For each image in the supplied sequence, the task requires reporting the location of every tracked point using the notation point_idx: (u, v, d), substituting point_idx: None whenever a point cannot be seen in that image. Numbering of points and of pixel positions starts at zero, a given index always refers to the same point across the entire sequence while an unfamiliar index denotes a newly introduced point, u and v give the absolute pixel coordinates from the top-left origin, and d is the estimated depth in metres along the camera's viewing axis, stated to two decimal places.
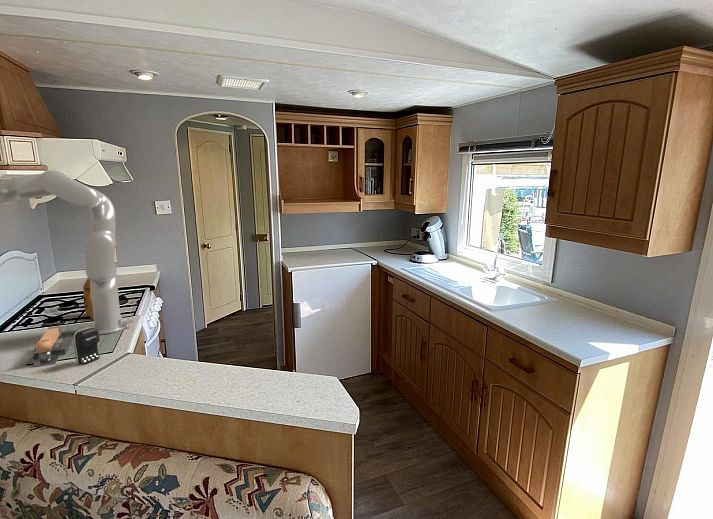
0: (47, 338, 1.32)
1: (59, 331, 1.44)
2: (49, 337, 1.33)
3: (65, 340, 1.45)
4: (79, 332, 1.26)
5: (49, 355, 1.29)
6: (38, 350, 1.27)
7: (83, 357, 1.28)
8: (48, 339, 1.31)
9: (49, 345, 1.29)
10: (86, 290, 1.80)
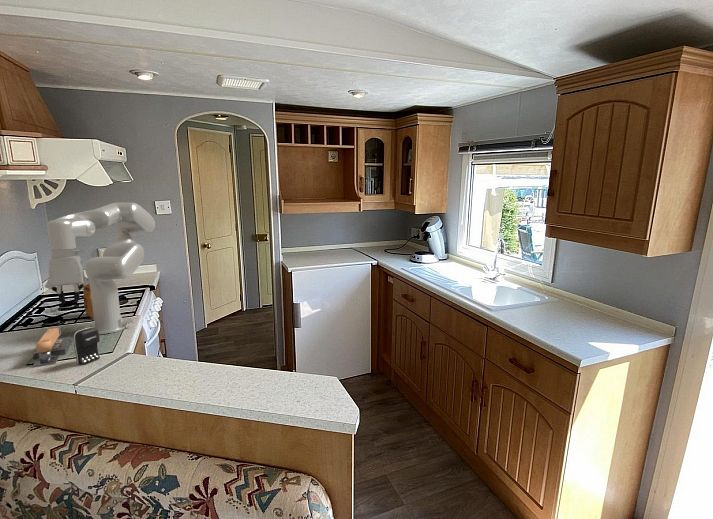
0: (47, 338, 1.32)
1: (59, 331, 1.44)
2: (49, 337, 1.33)
3: (65, 340, 1.45)
4: (79, 332, 1.26)
5: (49, 355, 1.29)
6: (38, 350, 1.27)
7: (83, 357, 1.28)
8: (48, 339, 1.31)
9: (49, 345, 1.29)
10: (86, 290, 1.80)
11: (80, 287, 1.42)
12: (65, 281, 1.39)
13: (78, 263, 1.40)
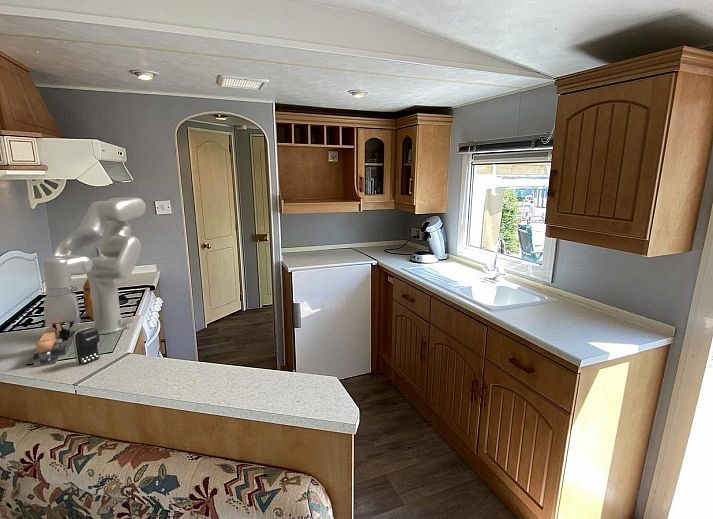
0: (47, 338, 1.32)
1: (58, 331, 1.44)
2: (49, 337, 1.33)
3: None
4: (79, 332, 1.26)
5: (49, 355, 1.29)
6: (38, 350, 1.27)
7: (83, 357, 1.28)
8: (48, 339, 1.31)
9: (49, 345, 1.29)
10: (86, 290, 1.80)
11: (70, 325, 1.42)
12: (60, 319, 1.39)
13: (74, 301, 1.41)
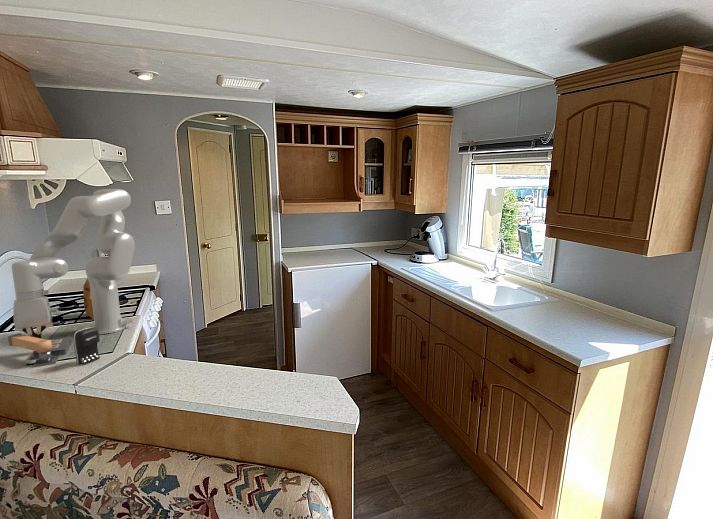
0: (39, 340, 1.31)
1: None
2: (38, 339, 1.31)
3: (65, 340, 1.45)
4: (79, 332, 1.26)
5: (49, 355, 1.29)
6: (42, 350, 1.27)
7: (83, 357, 1.28)
8: (43, 340, 1.30)
9: (51, 344, 1.30)
10: (86, 290, 1.80)
11: (42, 329, 1.38)
12: (31, 323, 1.35)
13: (45, 304, 1.37)
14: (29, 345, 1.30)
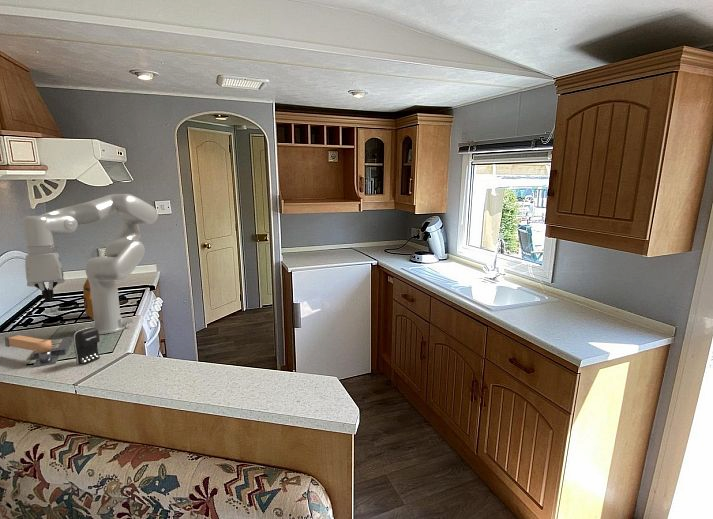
0: (38, 340, 1.30)
1: None
2: (37, 339, 1.31)
3: (65, 340, 1.45)
4: (79, 332, 1.26)
5: (49, 355, 1.29)
6: (42, 350, 1.27)
7: (83, 357, 1.28)
8: (42, 340, 1.30)
9: (51, 344, 1.30)
10: (86, 290, 1.80)
11: (54, 285, 1.39)
12: (43, 278, 1.36)
13: (56, 260, 1.37)
14: (28, 345, 1.29)
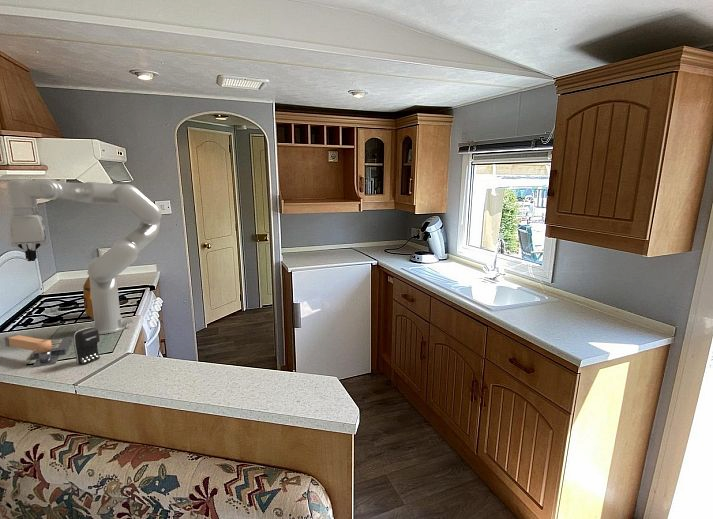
0: (38, 340, 1.30)
1: None
2: (37, 339, 1.31)
3: (65, 340, 1.45)
4: (79, 332, 1.26)
5: (49, 355, 1.29)
6: (42, 350, 1.27)
7: (83, 357, 1.28)
8: (42, 340, 1.30)
9: (51, 344, 1.30)
10: (86, 290, 1.80)
11: (36, 246, 1.46)
12: (26, 239, 1.44)
13: (39, 222, 1.45)
14: (28, 345, 1.29)
